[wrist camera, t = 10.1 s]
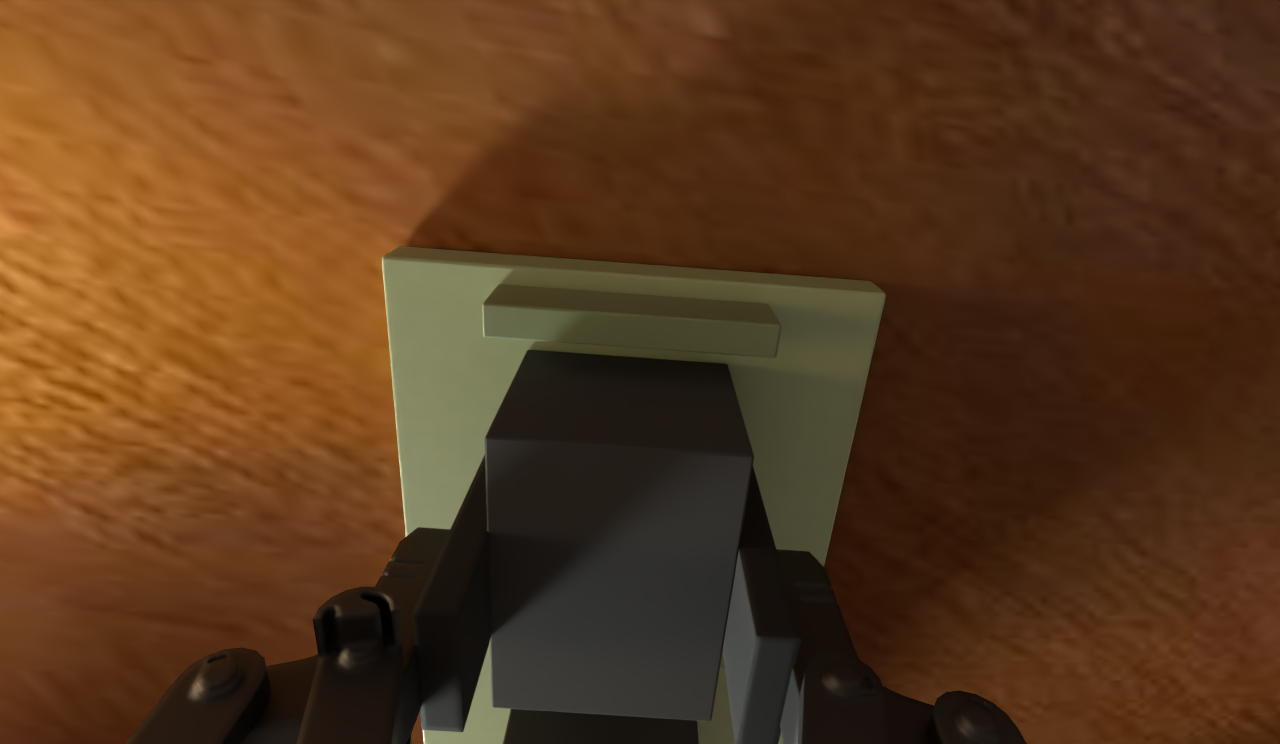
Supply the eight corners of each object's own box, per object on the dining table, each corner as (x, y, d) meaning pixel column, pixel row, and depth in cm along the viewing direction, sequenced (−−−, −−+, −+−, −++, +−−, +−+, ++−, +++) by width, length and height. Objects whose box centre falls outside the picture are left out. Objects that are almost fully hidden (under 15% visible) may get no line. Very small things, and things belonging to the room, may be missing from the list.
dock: (398, 245, 16) (277, 316, 11) (871, 280, 16) (976, 366, 11) (437, 760, 24) (376, 949, 18) (762, 780, 24) (794, 973, 19)
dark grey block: (526, 348, 16) (483, 436, 12) (728, 363, 16) (755, 455, 12) (526, 573, 19) (491, 708, 15) (698, 584, 19) (711, 722, 15)
